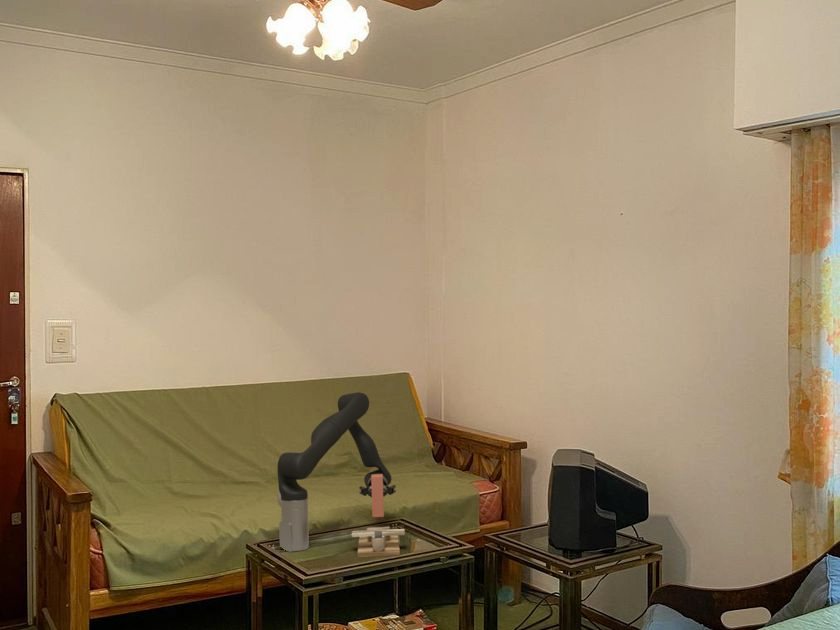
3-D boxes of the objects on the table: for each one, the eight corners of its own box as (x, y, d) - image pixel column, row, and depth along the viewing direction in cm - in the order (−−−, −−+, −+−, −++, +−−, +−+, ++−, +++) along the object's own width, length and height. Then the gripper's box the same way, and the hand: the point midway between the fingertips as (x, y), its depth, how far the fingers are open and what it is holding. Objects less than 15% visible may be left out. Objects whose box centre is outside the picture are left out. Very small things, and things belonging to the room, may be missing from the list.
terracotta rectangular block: (383, 516, 300) (382, 477, 301) (372, 517, 300) (371, 477, 301) (383, 512, 307) (382, 474, 308) (372, 513, 307) (371, 474, 308)
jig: (405, 555, 282) (405, 534, 282) (351, 557, 281) (350, 536, 281) (403, 536, 310) (403, 517, 310) (354, 538, 309) (353, 519, 309)
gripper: (358, 476, 318) (357, 484, 301) (396, 475, 319) (397, 482, 302) (358, 496, 318) (357, 505, 301) (396, 495, 318) (397, 503, 301)
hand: (377, 493), depth 301 cm, fingers closed on terracotta rectangular block, 4 cm apart
